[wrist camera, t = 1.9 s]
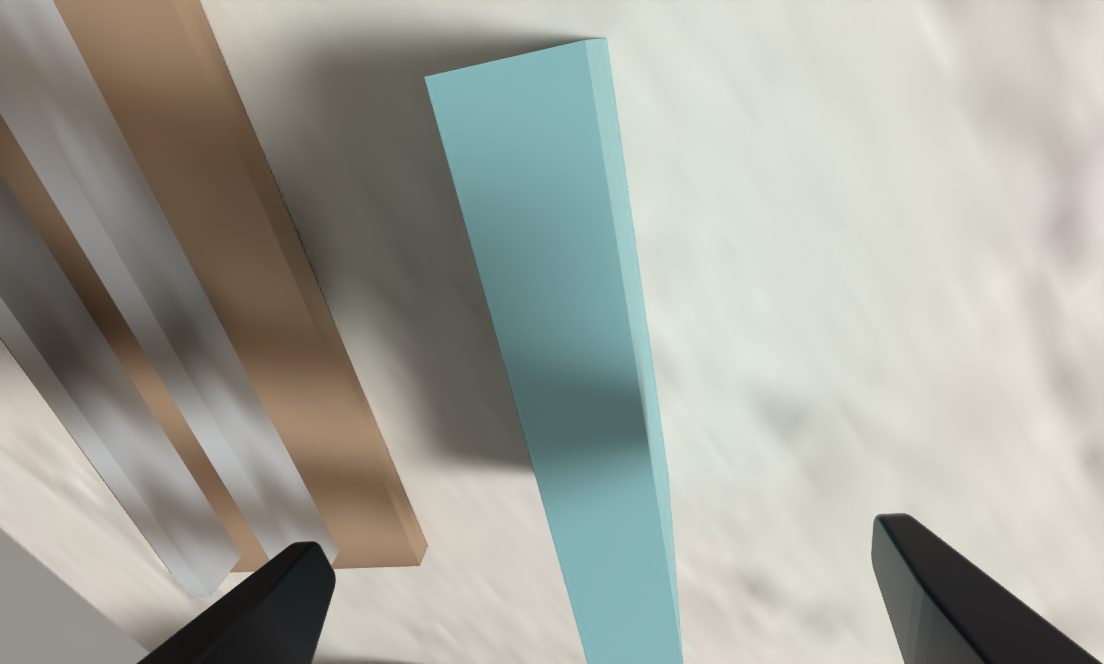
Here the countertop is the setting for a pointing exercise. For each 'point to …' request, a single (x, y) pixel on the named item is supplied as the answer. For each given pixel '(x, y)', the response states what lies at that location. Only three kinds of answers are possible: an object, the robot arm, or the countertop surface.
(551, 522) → the door panel
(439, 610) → the countertop surface
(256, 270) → the track
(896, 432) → the countertop surface
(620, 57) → the countertop surface
